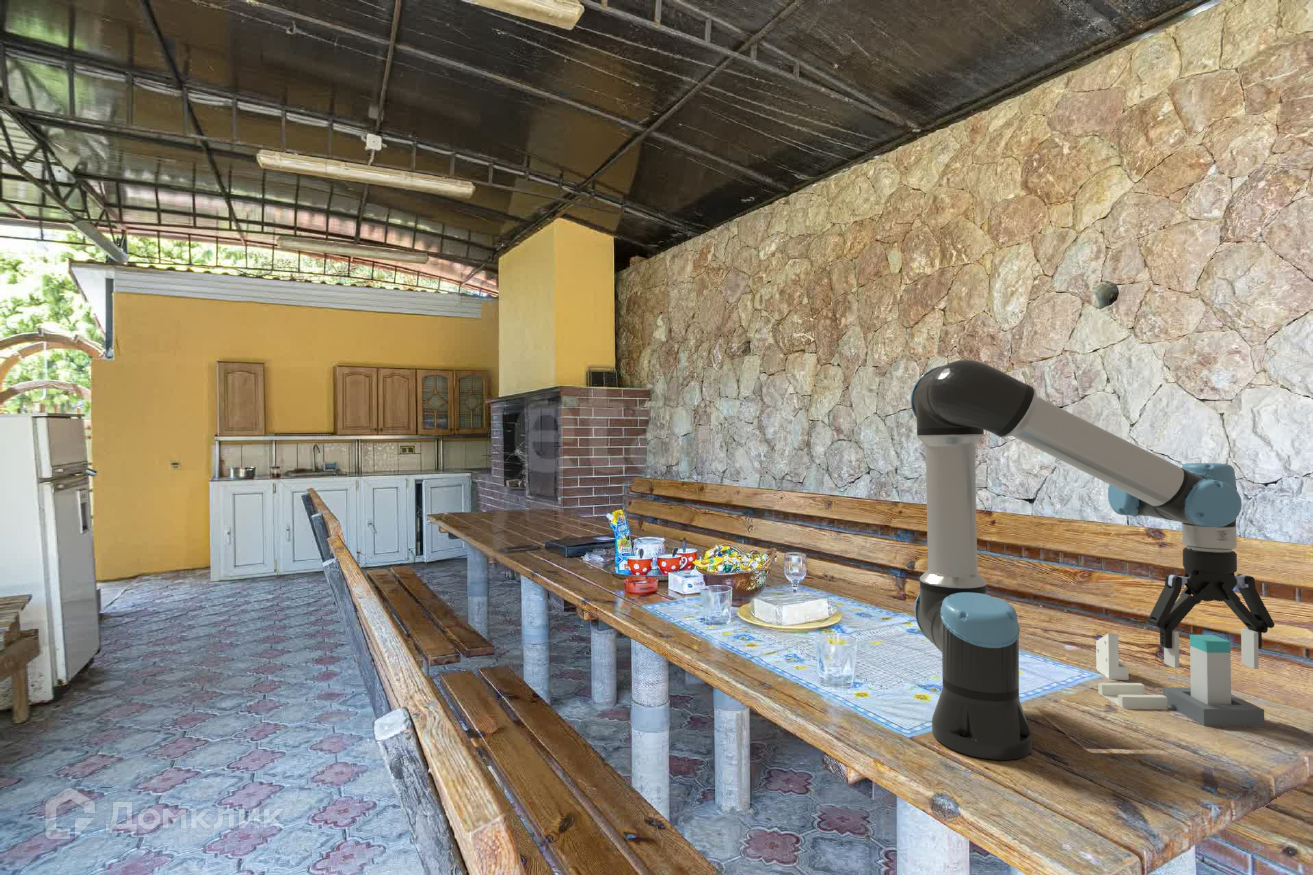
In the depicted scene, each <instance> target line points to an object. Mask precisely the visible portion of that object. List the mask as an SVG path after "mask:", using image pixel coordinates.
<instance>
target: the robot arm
mask: <svg viewBox="0 0 1313 875" xmlns="http://www.w3.org/2000/svg"><path fill="white" fill-rule="evenodd" d="M909 398H910V407H911V408H910V409H912V413H913V415H914V416H915V418H916V438H918V439H919V440H920V441H921V443H923V444H924V446H925V467H926V468H925V471H926V472H925V476H926V477H925V478H926V479H925V480H926V482H925V484H926V488H925V489H926V527H927V530H926V533H927V569H926V571H925V572H923V574H922V575H921V576H920V577H919V593H918V595H917V597H916V599H915V602H914V608H913V610H914V617H915V620H916V623H917V626H918V628H919V630H920V631H921V632H922V634H923V636H924V637H925V638H926V639H927V640H928V641H930V643H932V644H933V645H934V646H935V647H936V648H937V649H938V650H939V651H940V652H941V657H942V658H941V659H942V660H941V662H942V664H941V666H942V668H941V670H942V688H941V692H940V695H939V698H938V700H937V703H936V707H935V709H934V712H933V715H932V717H931V718H932V719H931V733H932V735H933V737H934V739H936V740H937V741H938V742H939V743H940V744H942V745H943V746H945V747H947V748H949V749H951V750H953V751H955V752H957V753H961V754H964V755H967V756H971V757H974V758H975V757H976V758H980V759H985V760H995V761H1009V760H1010V761H1011V760H1016V759H1017V760H1018V759H1021V758H1024V757H1025V758H1026V756H1028V755H1030V754H1031V752H1032V750H1033V743H1032V742H1033V737H1032V731H1031V729H1030V726H1029V723H1028V721H1027V720H1028V719H1027V718H1026V717H1027V716H1026V715H1025V712H1024V709H1023V707H1022V703H1021V701H1020V644H1019V643H1020V642H1019V641H1020V640H1019V639H1020V629H1021V628H1020V624H1019V620H1018V618H1019V617H1018V614H1017V611H1016V609H1015V607H1013V605H1012V604H1010V603H1009V602H1008V601H1006V600H1003V599H1001V598H999V597H996V596H995V597H994V596H992V595H989V594H988V586H987V584H988V583H987V581H986V579H984V578H983V576H982V575H980V573H979V572H978V544H977V543H978V541H977V540H978V539H977V538H978V537H977V535H978V533H977V532H978V531H977V489H976V488H977V486H976V484H977V483H976V476H977V475H976V445H977V443H978V442H979V441H980V440H981V439H982V438H983V437H984V436H985V434H984V433H985V432H984V431H987V432H989V433H992V434H993V435H996V436H997V437H1000V438H1004V439H1005V438H1008V437H1014V438H1015V439H1017V440H1020V441H1021V442H1023V443H1025V444H1028V445H1029V446H1032V447H1033V448H1036V449H1038V450H1039V451H1042V452H1043V453H1045V454H1047V455H1049V456H1052V457H1053V458H1055V459H1058V460H1060V461H1061V462H1064V463H1066V464H1068V465H1069V466H1072V467H1074V468H1076V469H1078V470H1080V471H1082V472H1084V473H1086V474H1088V475H1090V476H1092V477H1094V478H1096V479H1098V480H1099V481H1102V482H1104V483H1106V484H1108V488H1107V500H1108V502H1109V505H1110V507H1111V510H1113V511H1114V512H1115V514H1117V515H1120V516H1131V517H1135V518H1136V517H1138V516H1139V517H1140V516H1141V517H1143V516H1144V517H1152V518H1158V519H1163V520H1169V521H1173V522H1180V523H1182V525H1181V527H1182V528H1181V529H1182V531H1181V532H1182V534H1181V536H1182V537H1181V544H1183V545H1184V546H1186V547H1184V548H1183V549H1182V566H1183V568H1184V571H1185V572H1184V575H1181V576H1179V575H1175V574H1171V573H1167V574H1166V575H1165V580H1164V587H1163V588H1162V591H1161V592H1160V594H1159V596H1158V599H1157V600H1156V602H1155V604H1154V606H1153V608H1152V610H1151V612H1150V614H1149V616H1148V618H1147V623H1148V624H1149V625H1152V626H1154V627H1156V628H1158V629H1159V645H1160V646H1161V647H1163V663H1164V665H1167V666H1169V667H1171V668H1173V669H1180V632H1179V631H1177V630H1175V629H1176V628H1177V627H1178V626H1179V624H1181V622H1182V621H1183V620H1184V618H1185V617H1186V616H1187V615H1188V614H1189V613H1190V612H1191V611H1192V609H1193V608H1194V607H1196V605H1198V604H1200V603H1201V602H1202V601H1204V602H1212V601H1216V602H1224V603H1225V604H1226V606H1227V607H1229V609H1230V610H1231V611H1232V612H1233V613H1234V614H1235V616H1236V617H1237V618H1238V619H1239V620H1240V621H1241V622H1242V623H1243V625H1244V626H1245V627H1241V628H1240V639H1241V640H1240V643H1241V644H1240V647H1241V648H1240V649H1241V652H1240V654H1241V665H1244V666H1246V667H1248V668H1251V669H1253V670H1259V668H1260V667H1259V665H1260V664H1259V663H1260V662H1259V657H1260V656H1259V650H1261V649H1262V648H1263V640H1262V639H1263V634H1266V633H1268V631H1269V630H1268V629H1272V628H1275V622H1274V621H1273V618H1272V617H1271V614H1270V613H1269V611H1268V610H1267V608H1266V605H1265V604H1264V602H1263V599H1262V597H1261V595H1260V593H1259V592H1258V590H1257V588H1256V581H1255V577H1253V576H1251V575H1246V574H1243V573H1238V574H1236V575H1235V573H1236V572H1237V570H1238V554H1237V553H1236V552H1235V551H1233V550H1235V549H1236V548H1237V546H1238V545H1237V542H1238V541H1237V518H1238V516H1240V513H1241V510H1242V507H1243V506H1242V504H1243V502H1242V498H1241V494H1239V491H1238V487H1237V479H1236V478H1237V477H1236V471H1235V468H1234V467H1233V466H1232V465H1230V464H1228V463H1220V462H1219V463H1216V462H1215V463H1213V462H1212V463H1211V462H1209V463H1208V462H1207V463H1206V462H1195V463H1194V462H1190V463H1184V464H1182V466H1181V467H1180V466H1178V465H1177V464H1174V463H1172V462H1171V461H1168V460H1166V459H1164V458H1162V457H1160V456H1159V455H1156V454H1155V453H1153V452H1151V451H1148V450H1146V449H1144V448H1142V447H1140V446H1138V445H1136V444H1134V443H1131V442H1130V441H1128V440H1126V439H1124V438H1122V437H1119V436H1117V435H1115V434H1114V433H1111V432H1110V431H1107V430H1106V429H1104V428H1101V427H1099V426H1097V425H1095V424H1093V423H1092V422H1089V421H1087V420H1085V419H1084V418H1081V417H1079V416H1077V415H1075V414H1073V413H1071V412H1069V411H1068V410H1064V409H1063V408H1061V407H1060V406H1057V405H1055V404H1053V403H1051V402H1049V401H1047V400H1044V399H1042V398H1041V397H1039V396H1038V395H1037V391H1036V389H1035V387H1033V386H1031V385H1029V384H1027V383H1024V382H1023V381H1020V380H1018V379H1017V378H1015V377H1013V376H1011V375H1009V374H1007V373H1005V372H1003V371H1002V370H999V369H997V368H995V367H993V366H991V365H988V364H986V363H983V362H980V361H977V360H970V359H969V360H968V359H960V360H955V361H953V362H949V363H948V364H944V365H941V366H939V365H938V366H936V367H934V368H931V369H930V370H928V371H926V372H925V373H923V375H921V376H920V377H919V379H918V380H916V382H915V384H914V385H913V387H912V390H911V393H910V397H909ZM1184 587H1185V588H1184ZM1235 587H1237V588H1238V591H1239V592H1240V595H1241V596H1242V598H1243V600H1244V602H1245V604H1246V605H1247V606H1246V605H1245V604H1244V603H1243V602H1242V601H1241V598H1240V596H1238V594H1237V593H1236V592H1235V591H1234V588H1235ZM1183 588H1184V589H1183ZM1182 589H1183V591H1181V590H1182ZM1179 596H1180V597H1179Z"/></svg>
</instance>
